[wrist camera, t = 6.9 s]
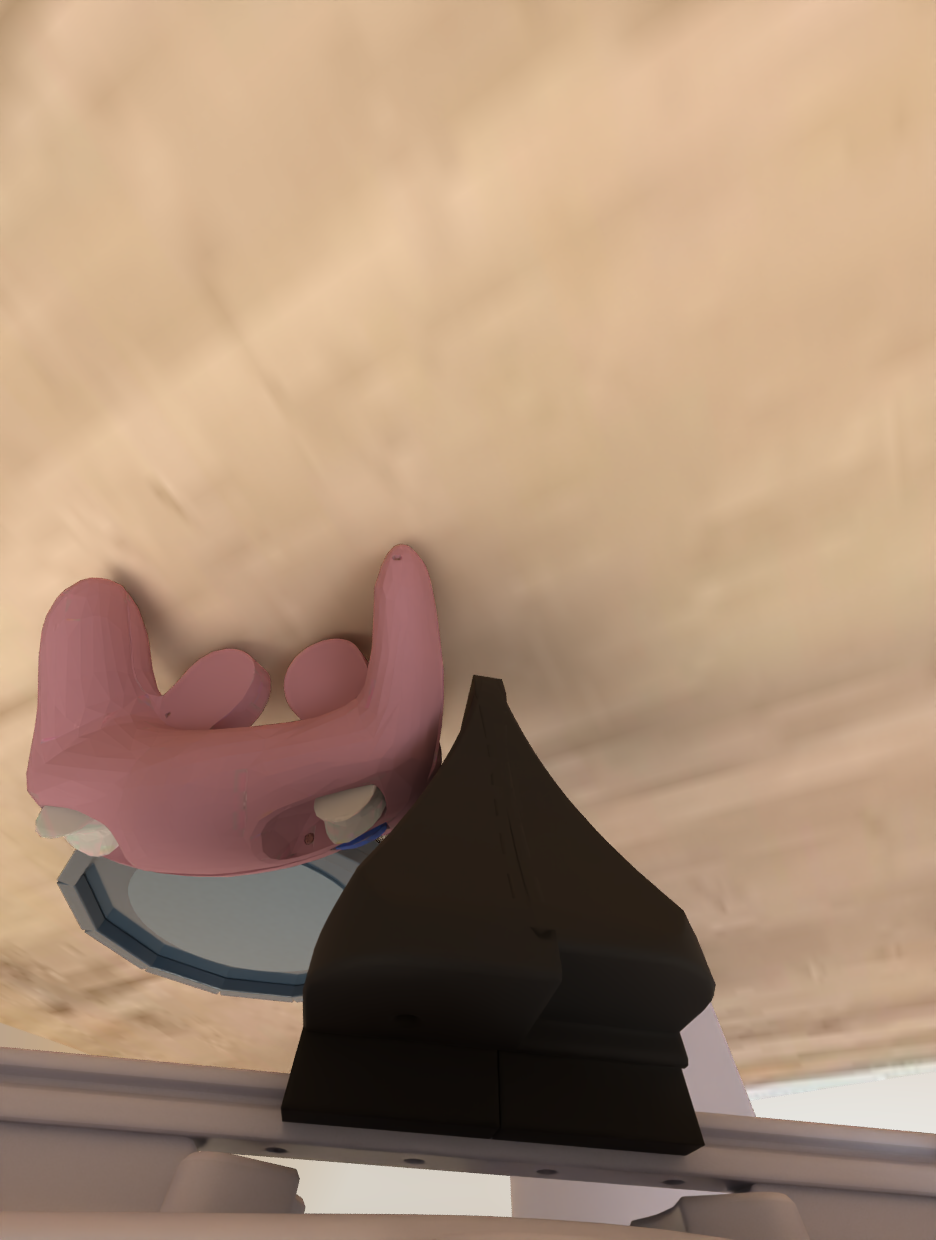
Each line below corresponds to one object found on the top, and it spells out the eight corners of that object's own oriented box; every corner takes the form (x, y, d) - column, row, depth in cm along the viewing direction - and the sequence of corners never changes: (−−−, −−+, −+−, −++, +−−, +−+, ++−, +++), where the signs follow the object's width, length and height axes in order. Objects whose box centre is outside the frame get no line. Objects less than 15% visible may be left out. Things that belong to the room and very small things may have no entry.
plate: (440, 816, 16) (437, 848, 15) (401, 983, 23) (397, 1014, 22) (41, 761, 15) (4, 791, 14) (128, 954, 22) (109, 984, 21)
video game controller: (180, 652, 14) (75, 888, 10) (59, 563, 11) (-180, 880, 6) (455, 626, 14) (460, 870, 9) (430, 522, 10) (420, 849, 6)
